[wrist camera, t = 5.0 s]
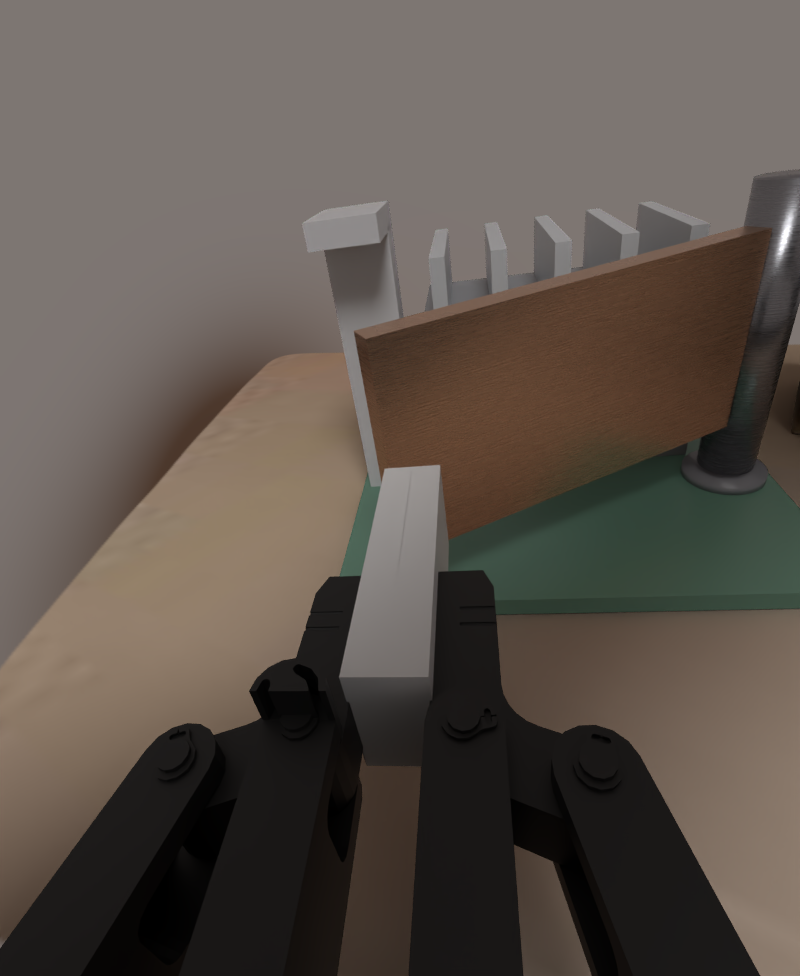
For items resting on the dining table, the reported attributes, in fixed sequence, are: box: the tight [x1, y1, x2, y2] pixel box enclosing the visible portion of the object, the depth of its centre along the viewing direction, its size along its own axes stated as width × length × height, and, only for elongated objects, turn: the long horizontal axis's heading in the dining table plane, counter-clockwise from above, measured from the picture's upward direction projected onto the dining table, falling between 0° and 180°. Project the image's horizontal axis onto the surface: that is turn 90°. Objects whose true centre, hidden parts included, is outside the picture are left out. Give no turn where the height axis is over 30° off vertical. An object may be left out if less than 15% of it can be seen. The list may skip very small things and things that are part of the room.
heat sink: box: [302, 201, 800, 614], centre depth 25 cm, size 20×19×14 cm
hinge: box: [354, 170, 800, 540], centre depth 20 cm, size 18×2×12 cm, turn 114°
